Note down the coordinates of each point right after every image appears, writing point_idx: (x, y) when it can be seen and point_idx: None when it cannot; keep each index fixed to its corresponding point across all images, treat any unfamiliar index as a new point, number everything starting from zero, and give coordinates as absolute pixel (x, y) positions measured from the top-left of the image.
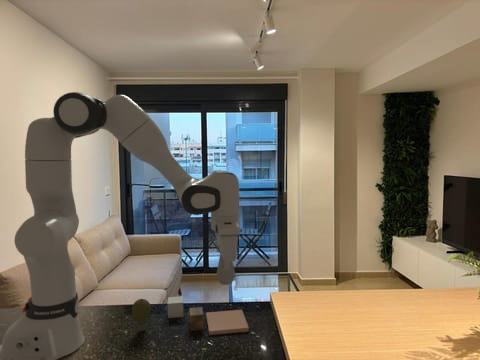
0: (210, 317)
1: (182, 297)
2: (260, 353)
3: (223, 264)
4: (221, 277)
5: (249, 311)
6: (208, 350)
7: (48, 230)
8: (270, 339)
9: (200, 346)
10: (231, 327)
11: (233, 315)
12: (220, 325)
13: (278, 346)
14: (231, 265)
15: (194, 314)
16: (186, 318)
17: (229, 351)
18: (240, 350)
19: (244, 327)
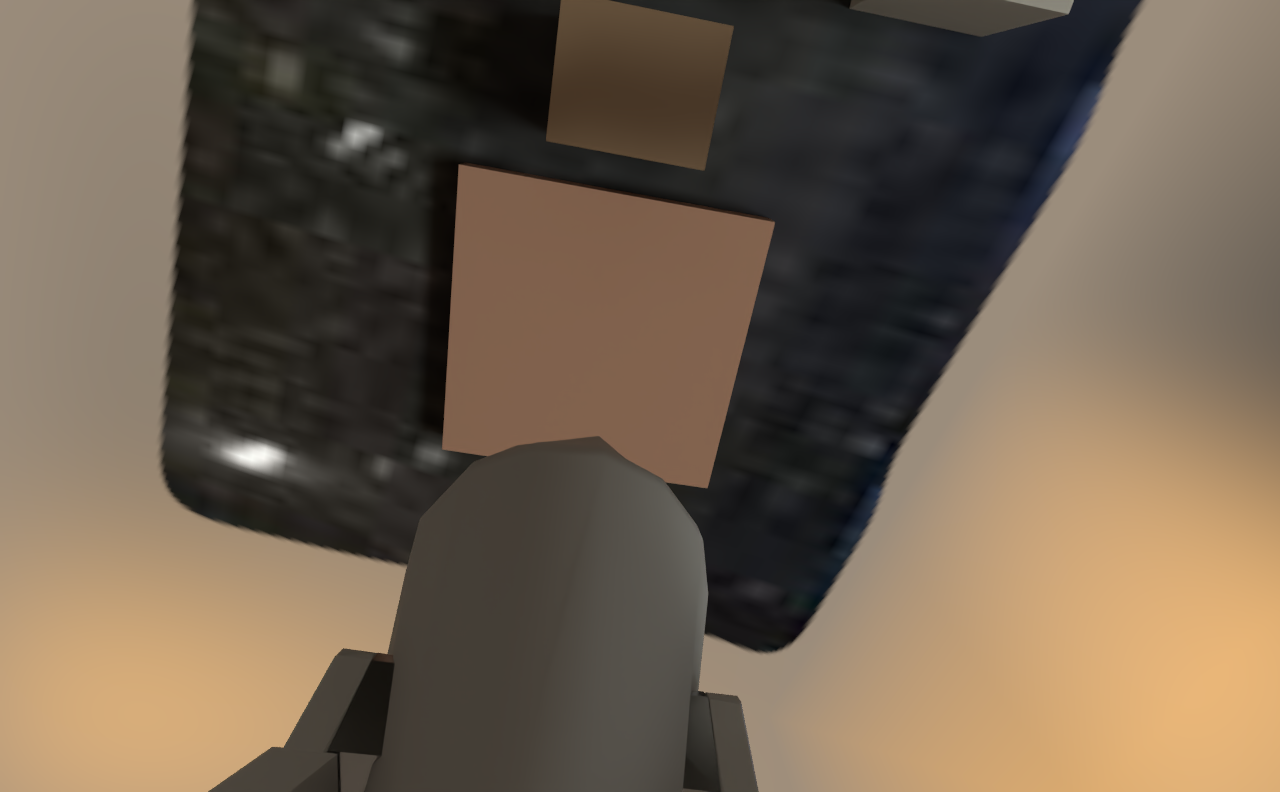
0: (678, 235)
1: (1036, 2)
2: (184, 416)
3: (391, 718)
4: (440, 498)
5: (707, 524)
6: (253, 98)
7: None
8: (329, 517)
9: (317, 49)
10: (472, 344)
11: (643, 409)
12: (523, 276)
13: (248, 528)
14: None
15: (571, 48)
16: (803, 33)
17: (224, 244)
18: (229, 316)
19: (451, 425)
